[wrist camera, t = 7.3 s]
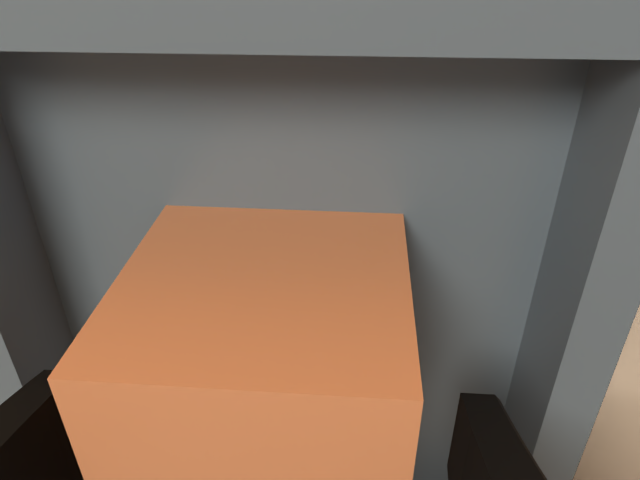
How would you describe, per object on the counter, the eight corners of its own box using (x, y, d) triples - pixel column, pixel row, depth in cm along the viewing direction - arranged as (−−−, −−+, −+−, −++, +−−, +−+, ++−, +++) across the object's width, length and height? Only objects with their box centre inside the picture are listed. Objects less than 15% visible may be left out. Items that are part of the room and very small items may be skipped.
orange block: (403, 213, 11) (423, 400, 7) (387, 386, 14) (395, 599, 10) (165, 205, 12) (47, 378, 7) (194, 375, 14) (119, 576, 10)
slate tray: (669, -39, 9) (762, -22, 7) (507, 509, 17) (527, 597, 15) (-86, -40, 10) (-212, -25, 8) (97, 480, 18) (59, 559, 15)
